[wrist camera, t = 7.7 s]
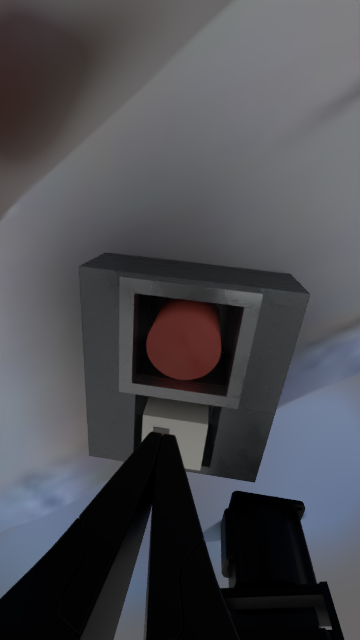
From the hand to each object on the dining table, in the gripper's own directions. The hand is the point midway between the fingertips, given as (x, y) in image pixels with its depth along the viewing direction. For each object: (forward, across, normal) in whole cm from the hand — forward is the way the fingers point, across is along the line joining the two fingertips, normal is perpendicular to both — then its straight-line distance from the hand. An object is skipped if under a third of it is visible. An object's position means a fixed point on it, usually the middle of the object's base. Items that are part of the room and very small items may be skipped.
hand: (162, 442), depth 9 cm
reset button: (+11, 0, 0) cm, 11 cm away
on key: (+11, 0, +7) cm, 13 cm away
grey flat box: (+11, 0, +4) cm, 12 cm away
